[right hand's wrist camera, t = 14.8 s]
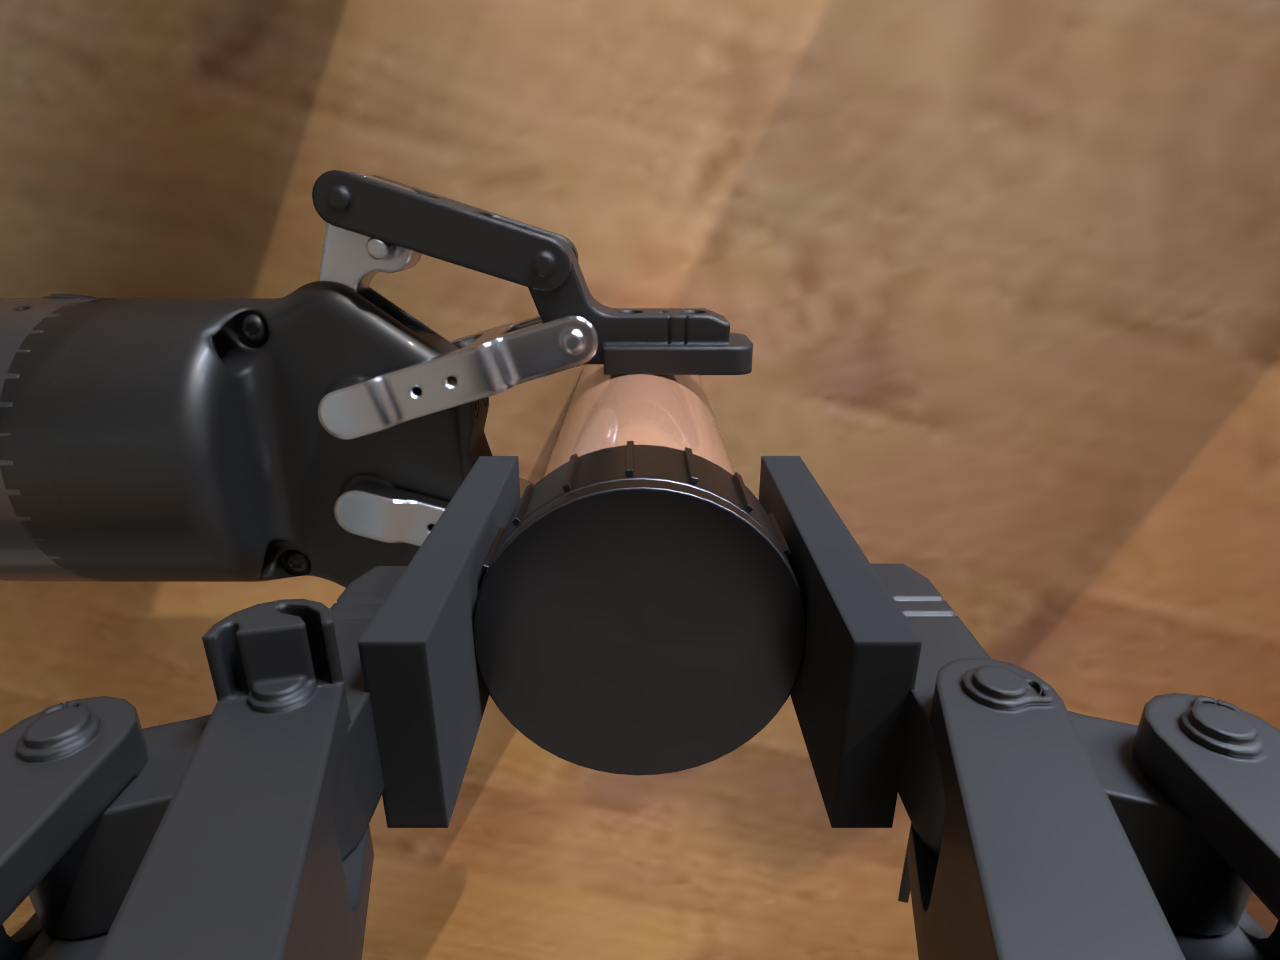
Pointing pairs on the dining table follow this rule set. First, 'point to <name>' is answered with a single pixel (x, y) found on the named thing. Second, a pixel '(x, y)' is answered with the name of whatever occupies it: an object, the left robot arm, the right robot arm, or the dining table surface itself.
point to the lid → (639, 612)
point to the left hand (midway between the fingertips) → (739, 442)
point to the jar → (639, 416)
